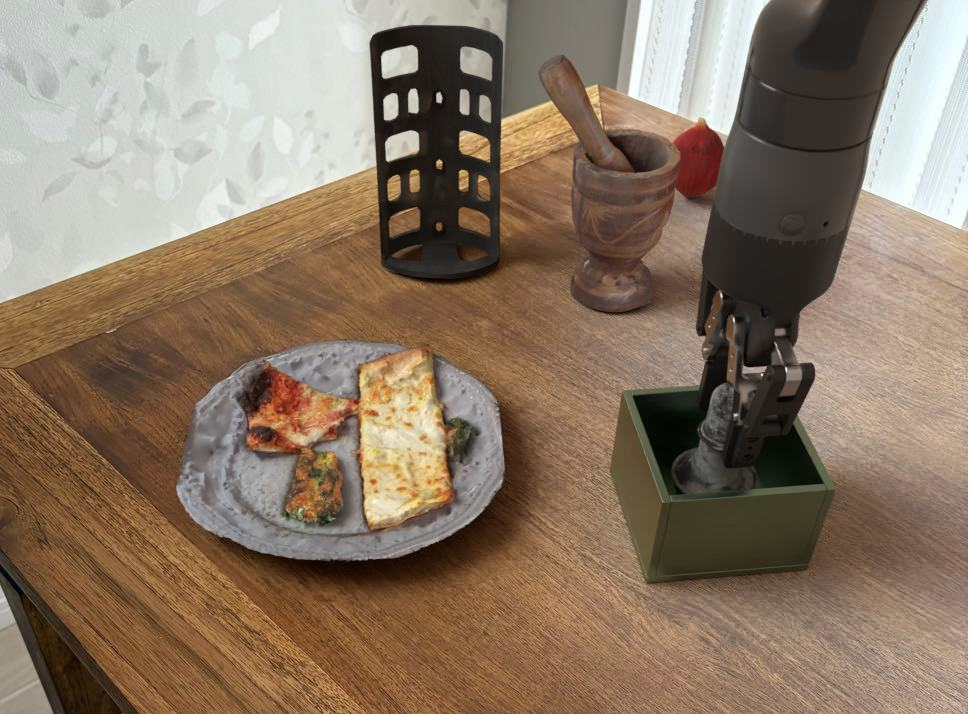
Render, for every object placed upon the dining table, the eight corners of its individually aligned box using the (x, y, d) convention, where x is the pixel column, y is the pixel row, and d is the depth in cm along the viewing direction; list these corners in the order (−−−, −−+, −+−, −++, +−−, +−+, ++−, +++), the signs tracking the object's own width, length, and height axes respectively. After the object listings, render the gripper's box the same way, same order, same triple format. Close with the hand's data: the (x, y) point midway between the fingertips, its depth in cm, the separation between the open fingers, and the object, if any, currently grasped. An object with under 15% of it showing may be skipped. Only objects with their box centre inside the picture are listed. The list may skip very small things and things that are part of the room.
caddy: (756, 460, 83) (779, 379, 78) (807, 570, 75) (836, 489, 70) (609, 471, 82) (622, 390, 77) (645, 583, 75) (662, 502, 69)
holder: (383, 286, 99) (375, 51, 86) (373, 249, 104) (364, 22, 91) (505, 277, 100) (515, 43, 87) (488, 240, 106) (496, 16, 93)
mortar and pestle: (533, 321, 95) (551, 93, 81) (521, 266, 101) (535, 44, 87) (666, 316, 96) (707, 88, 82) (646, 261, 102) (681, 40, 88)
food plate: (210, 359, 92) (204, 323, 89) (492, 357, 92) (493, 321, 89) (164, 585, 75) (154, 549, 72) (510, 582, 75) (513, 546, 72)
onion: (730, 196, 110) (747, 118, 104) (697, 219, 107) (713, 140, 101) (681, 176, 113) (695, 99, 107) (648, 197, 110) (660, 119, 104)
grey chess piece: (765, 519, 78) (807, 384, 69) (704, 554, 76) (739, 418, 67) (706, 472, 81) (739, 337, 73) (646, 504, 79) (672, 369, 70)
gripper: (901, 267, 56) (817, 506, 69) (805, 135, 66) (747, 365, 78) (757, 276, 56) (698, 515, 68) (682, 141, 66) (642, 372, 78)
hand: (725, 433), depth 73 cm, fingers open, 5 cm apart
